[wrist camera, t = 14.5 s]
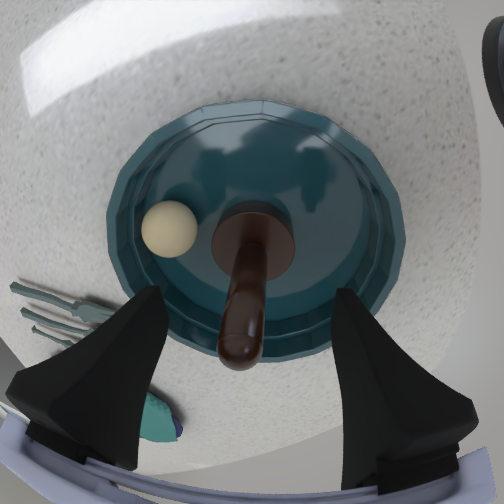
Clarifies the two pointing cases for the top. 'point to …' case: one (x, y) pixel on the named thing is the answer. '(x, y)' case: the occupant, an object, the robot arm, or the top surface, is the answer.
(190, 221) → the dough ball
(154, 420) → the cutlery set
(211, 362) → the top surface
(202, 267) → the bowl
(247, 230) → the wooden pestle
